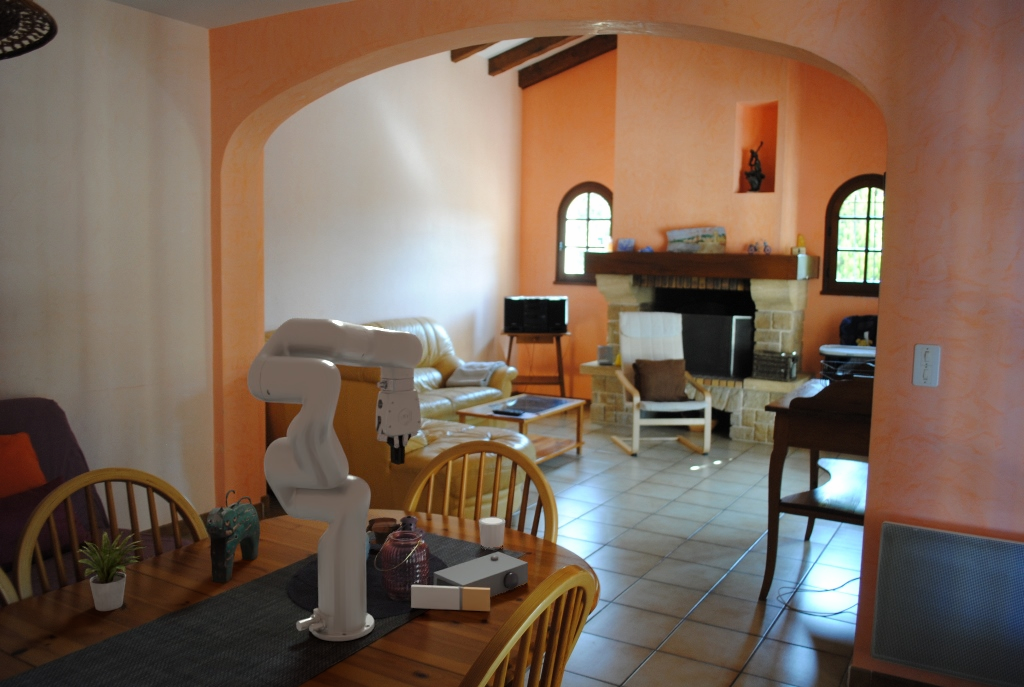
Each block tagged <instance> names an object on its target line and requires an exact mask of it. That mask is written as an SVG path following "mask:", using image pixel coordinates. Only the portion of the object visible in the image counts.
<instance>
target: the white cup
mask: <svg viewBox="0 0 1024 687" xmlns="http://www.w3.org/2000/svg"><path fill="white" fill-rule="evenodd" d="M478 527H479V528H478V529H479V538H480V540H479V541H480V546H481V545H482V546H484V547H487V548H488V547H490V548H493V547H500V546H502V545H503V546H504V538H505V529H506V520H505V518H502V517H500V516H485V517H482V518H479V519H478Z"/></svg>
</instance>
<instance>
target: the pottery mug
mask: <svg viewBox="0 0 1024 687" xmlns="http://www.w3.org/2000/svg"><path fill="white" fill-rule="evenodd" d="M400 524H401V523H397V519H396V518H394V517H385V516H384V517H377V518H376V517H375V518H371V519H369V520H368V525H367V526H366V534H367V533H369V532H372V533H374V537H375V539H373V540H369V542H371V543H373V544H379V545H380V544H381V545H382V544H383V543H384V541H385V539H386V538H387V536H388V535H389V534H390V533H392V532H393V531H395V530H397V529H398V528H399V527H400Z"/></svg>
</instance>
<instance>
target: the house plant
mask: <svg viewBox="0 0 1024 687" xmlns="http://www.w3.org/2000/svg"><path fill="white" fill-rule="evenodd" d="M124 531H125V530H122V531H121V532H119V534H118V536H117V537H116V538H115V539H114V541H113V542H112V544H111V540H110V538H109V537H108V532H107V531H104V530H103V532H102V538H101V539H102V540H101V546H100V547H101V548H99V547H98V546H97V545H96V543H95V544H94V543H91V542H88V541H86V540H83V542H84V543H85V544H86V545H87V547H88V548H87V547H86V546H83V545H82V546H81V547H82V548H84V550H83V549H78V551H77V553H79V552H82V553H84V554H85V555H86V556H87V557H89V558H90V559H91V560H90V559H88V558H83V559H82V558H81V559H79V560H78V561H77V562H78V563H82V564H85V565H88V566H90V567H92V568H86V569H85V571H84V574H83V575H84V578H86V577H88V576H89V575H91V574H96V575H93V576H92V577H90V579H89V584H90V585H89V586H90V589H91V593H92V597H93V601H94V602H93V603H94V607H95V610H97V611H99V612H110V611H114V610H117V609H119V608H121V607H122V606H123V602H124V596H125V588H126V587H125V586H126V581H127V580H126V579H127V574H126V565H129V564H132V563H140V564H141V562H140V561H138V560H137V559H140V557H141V555H136V556H134V555H129V556H125V555H127V554H129V553H131V552H133V551H136V550H138V549H144V548H146V546H141V547H136V546H138V545H135V544H136V543H139V542H142V541H145V540H137V541H134V542H131V543H129V544H127V543H128V541H129V539H131V537H133V535H135V534H136V532H135V533H132V534H130V535H128V536H126V537H125V538H124V539H123V540H122V541H121V543H120V544H119V545H118V546H117V544H118V543H119V540H120V539H121V536H122V535H123V532H124ZM133 544H134V545H133ZM116 546H117V547H116ZM132 547H134V548H132ZM96 548H97V549H96ZM124 556H125V557H124ZM123 557H124V558H123ZM128 559H129V560H128ZM121 570H122V571H123V572H122V571H121ZM120 571H121V572H120Z"/></svg>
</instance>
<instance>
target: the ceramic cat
mask: <svg viewBox="0 0 1024 687" xmlns="http://www.w3.org/2000/svg"><path fill="white" fill-rule="evenodd" d="M230 493H233V495H235V494H236V490H233V489H230V490H228V491H227V492H226V495H225V505H226V507H223V506H221V507H214V508H212V509H211V510H210V512H209V513H208V515H207V519H206V531H207V533H208V534H209V536H210V549H209V550H210V560H211V562H210V563H211V578H212V582H214V583H221V584H222V583H223V584H224V583H225V584H226V583H228V582H229V581H231V579H232V576H233V567H234V559H235V554H236V550H237V548H238V546H240V553H241V560H243V561H254V560H257V558H258V556H259V546H260V539H261V538H260V536H261V526H260V525H261V524H260V523H261V522H260V518H259V515H258V511H257V509H256V508H255V506H254V505H253V504H252V500H251V498H250V497H249V496H243V497H241V498H240V499H238V501H237V502H234V503H232V504H231V503H230V505H228V498H229V494H230ZM246 499H247V500H248V502H249V503H247V502H241V501H242V500H246Z"/></svg>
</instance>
